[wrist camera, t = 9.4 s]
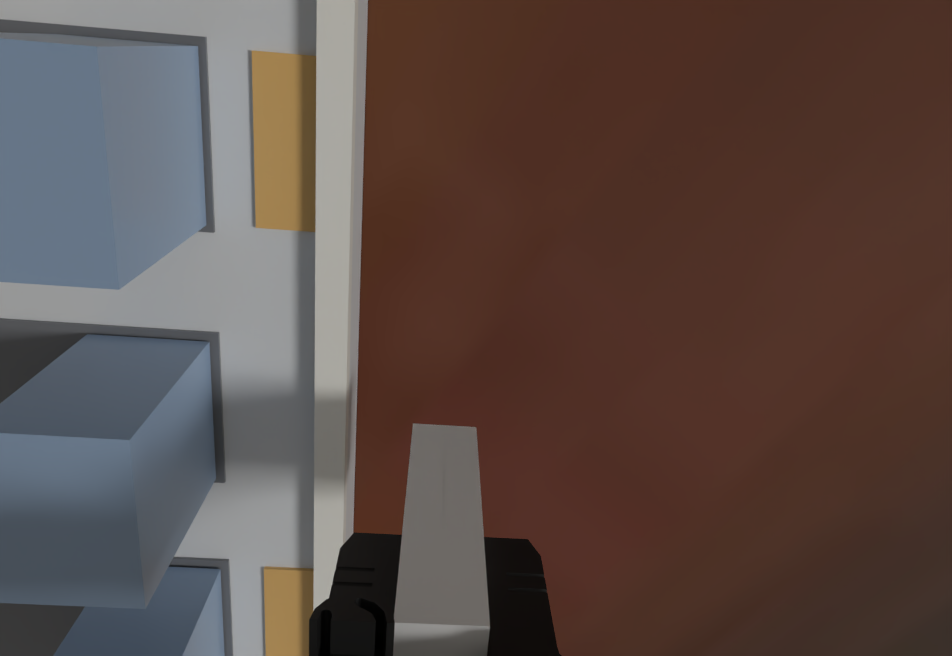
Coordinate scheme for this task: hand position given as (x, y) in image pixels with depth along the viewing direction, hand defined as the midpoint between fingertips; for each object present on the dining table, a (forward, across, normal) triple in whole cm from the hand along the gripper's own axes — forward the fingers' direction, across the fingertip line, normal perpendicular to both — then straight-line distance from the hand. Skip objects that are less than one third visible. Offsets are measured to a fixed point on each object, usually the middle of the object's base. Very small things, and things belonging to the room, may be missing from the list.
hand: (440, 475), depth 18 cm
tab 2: (+2, -7, 0) cm, 8 cm away
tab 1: (+2, -7, +7) cm, 11 cm away
